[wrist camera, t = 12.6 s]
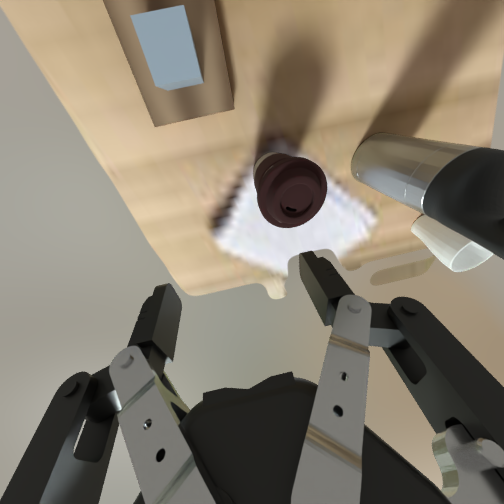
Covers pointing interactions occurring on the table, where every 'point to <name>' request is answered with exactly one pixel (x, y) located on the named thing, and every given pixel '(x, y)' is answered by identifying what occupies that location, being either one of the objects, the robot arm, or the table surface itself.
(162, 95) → the base
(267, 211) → the coffee cup
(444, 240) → the cup
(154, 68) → the block
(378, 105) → the table surface
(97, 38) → the table surface
